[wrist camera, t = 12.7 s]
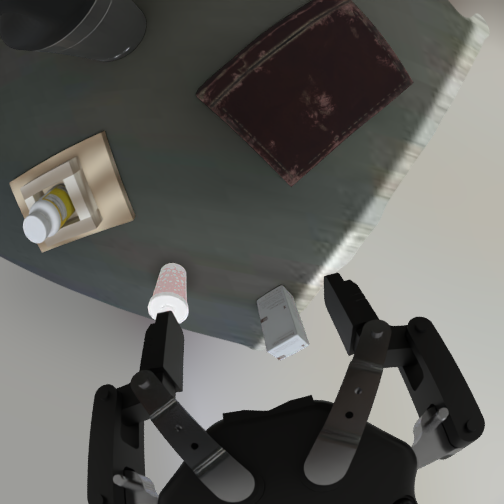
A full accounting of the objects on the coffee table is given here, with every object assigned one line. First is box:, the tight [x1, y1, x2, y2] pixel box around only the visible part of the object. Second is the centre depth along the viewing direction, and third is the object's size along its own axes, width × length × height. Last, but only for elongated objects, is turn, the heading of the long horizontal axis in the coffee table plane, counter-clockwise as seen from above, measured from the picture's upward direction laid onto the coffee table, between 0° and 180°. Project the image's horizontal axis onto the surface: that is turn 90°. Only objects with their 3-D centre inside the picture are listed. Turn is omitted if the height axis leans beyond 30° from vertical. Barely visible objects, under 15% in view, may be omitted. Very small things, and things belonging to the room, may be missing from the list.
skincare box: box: [257, 285, 309, 360], centre depth 47 cm, size 6×4×12 cm
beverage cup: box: [148, 263, 189, 323], centre depth 40 cm, size 6×6×14 cm
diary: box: [196, 0, 413, 187], centre depth 30 cm, size 19×25×5 cm
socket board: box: [10, 131, 135, 252], centre depth 34 cm, size 14×20×4 cm
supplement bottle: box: [23, 183, 75, 243], centre depth 30 cm, size 5×5×10 cm
